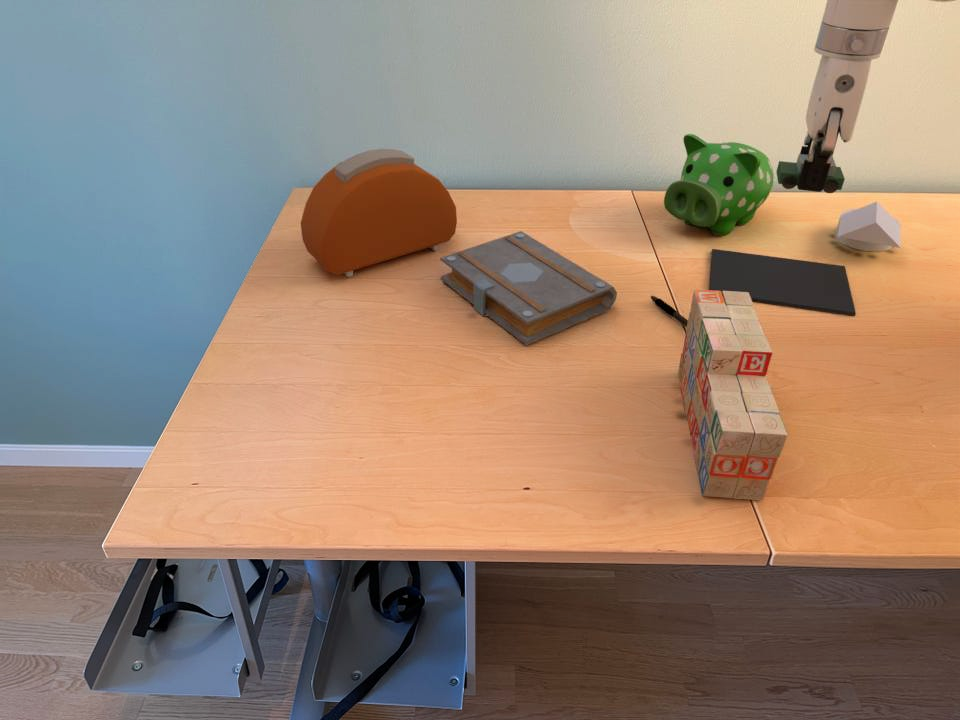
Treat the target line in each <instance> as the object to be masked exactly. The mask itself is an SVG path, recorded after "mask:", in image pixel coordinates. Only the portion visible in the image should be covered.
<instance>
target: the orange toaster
mask: <svg viewBox="0 0 960 720" xmlns="http://www.w3.org/2000/svg"><path fill="white" fill-rule="evenodd" d="M457 224H458V218H457V206H456V204H455V202H454V201H453V198H452V196H451V194H450V192H449V191H448V189H447V188H446V187H445V185H444V184H443V183H442V182H441V180H440V179H439V178H438V177H436V176H435V175H433V174H431V173H430V172H428V171H427V170H425V169H424V168H422V167H420V166H419V165H417V164H416V163H415V158H414V157H413V156H411V154H408V153H406V152H405V151H403V150H400V149H392V148H378V149H371V150H367V151H363V152H360V153H357V154H355V155H353V156H350V157H348V158H347V159H345V160H343V161H340V162H339V163H337V164H336V165H335V166H333V168H331V169H330V170H329V171H327V172H326V173H325V174H324V175H323V176H322V177H321V178H320V180H318V182H317V183H316V184H315V185H314V186H313V188H312V190H311V192H310V194H309V196H308V197H307V200H306V202H305V205H304V209H303V213H302V217H301V220H300V229H301V238H302V243H303V244H304V246H305V249H306V252H307V253H309V254H310V256H312V258H314V260H315V261H316V262H317V263H318V264H319V265H320V266H321V267H322V268H323V269H324V270H325V271H326V272H329V273H332V274H334V275H341V274H344V275H345V276H346V277H347V278H351V277H353V276H354V271H355V270H359V269H362V268H365V267H369V266H372V265H375V264H380V263H382V262H385V261H389V260H391V259H395V258H399V257H402V256H405V255H408V254H409V255H410V254H412V253H415V252H418V251H422V250H425V249H428V248H430V249H431V250H432V251H433V252H436V251H439V250H440V245H442V244H444V243H447V242H450V240H451V239H452V238H453V237H454V236H455V235H456V230H457Z"/></svg>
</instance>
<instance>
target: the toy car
mask: <svg viewBox="0 0 960 720" xmlns="http://www.w3.org/2000/svg"><path fill="white" fill-rule="evenodd" d="M805 159H806V160H808V155H805V154H800V153H798V156H797V159H796V162H792V161H781V160H780V161H779V160H778V164H777V167H776V171H775V172H776V179H777V184H779V185H781V186H782V188H784V189H786V190H792V189H795V187H797V185H798V181H799V178H800V174H801V171H802V167H803V164H804V161H805ZM845 181H846V180H845V176H844V173H843V171H842V167H841V166H837V164H836V162H835V159H834V156H833V157H832V161H831V166H830V169H829V172H828V175H827V178H826V181H825V185H824V188H823V190H822V191H823V192H825V194H833V193H835V192H837V191H842V189H843V186H844V183H845Z"/></svg>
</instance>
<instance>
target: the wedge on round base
mask: <svg viewBox="0 0 960 720" xmlns="http://www.w3.org/2000/svg"><path fill="white" fill-rule="evenodd" d="M834 237H835V239H836V240H837V241H838V242H840V243H841V244H842V245H844V246H846V247H848V248H851V249H855V250H859V251H864V252H875V253H877V252H879V253H880V252H886V251H889V250H890V249H892V248H899V249H901V248H902V236H901V223H900V221H898V219H896V218H895V217H893V216H892V215H891V214H890V212H888V211H887V210H886V209H885V208H884V207H883V206H882V205H881V204H880V202H878V201H875V202H874V201H873V202H872V203H869V204H867V205H864V206H861V207H859V208H852V209H851V208H850V209H847V210H844V211H842V212H841V213H840V217H839V219H838V222H837V225H836V228H835V231H834Z"/></svg>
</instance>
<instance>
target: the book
mask: <svg viewBox="0 0 960 720" xmlns="http://www.w3.org/2000/svg"><path fill="white" fill-rule="evenodd" d="M439 261H440V262H442V263H444V264H445V265H446V266H447V267H449V268H450V269H451V272H449V273H446V274H442V275H440V280H441V281H442V282H444V283H445V284H446V285H448V286H449V287H450V288H451V289H453V290H454V291H455V292H456V293H458V294H459V295H460V296H462V297H463V298H465V299H466V300H467V301H468V302H469V303H471V304H472V305H473V310H475V311H476V312H477V313H478V314H480V315H481V316H482V317H484V318H485V317H487V316H488V317H489V318H490V319H492V320H493V321H494V322H495V323H497V324H498V325H499V326H501V327H502V328H503V329H504V330H506V331H507V332H508V333H510V334H511V335H512V336H514V337H515V338H516V339H517V340H519V341H520V342H521V343H522V344H524V345H525V346H528V345H530V344H533V343H535V342H537V341H540V340H542V339H545V338H546V337H549V336H551V335H554V334H556V333H558V332H561V331H563V330H565V329H568V328H570V327H573V326H575V325H578V324H580V323H582V322H584V321H587V320H589V319H591V318H594V317H596V316H598V315H600V314H603V313H605V312H608V311H610V310H611V309H612V307H613V306H614V304H615V302H616V300H617V296H618V292H617V290H616V288H615V287H614V286H613V285H611V284H610V283H608V282H606V281H605V280H603V279H601V278H599V277H598V276H596V275H595V274H593V273H591V272H590V271H588V270H587V269H585V268H583V267H581V266H580V265H578V264H576V263H575V262H573V261H571V260H570V259H569V258H566V257H565V256H563V255H562V254H560V253H558V252H557V251H555V250H554V249H552V248H550V247H549V246H546V245H545V244H544V243H542V242H540V241H539V240H537V239H535V238H533V237H532V236H530V235H528V234H527V233H525V232H524V231H522V230H520V231H517V232H513V233H510V234H508V235H505V236H501V237H498V238H496V239H493V240H489V241H486V242H484V243H483V242H482V243H480V244H477V245H474V246H472V247H471V246H470V247H469V248H466V249H463V250H460V251H457V252H453V253H450V254H447V255H444V256H441V257H440V258H439Z"/></svg>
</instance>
